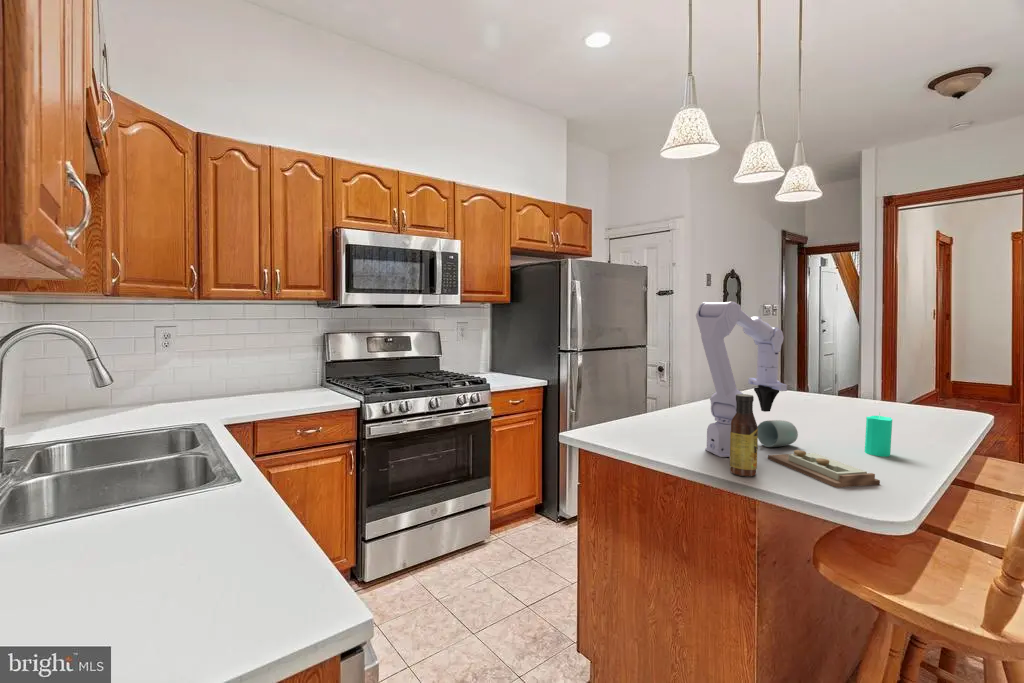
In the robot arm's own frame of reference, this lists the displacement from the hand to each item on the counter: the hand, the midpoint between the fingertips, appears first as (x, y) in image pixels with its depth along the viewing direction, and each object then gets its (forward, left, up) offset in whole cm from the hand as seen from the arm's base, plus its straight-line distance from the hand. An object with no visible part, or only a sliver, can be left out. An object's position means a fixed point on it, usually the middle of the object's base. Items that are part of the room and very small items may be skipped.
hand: (765, 411), depth 153 cm
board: (-3, -25, -10) cm, 27 cm away
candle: (+26, -14, -11) cm, 31 cm away
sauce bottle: (-24, -23, -11) cm, 35 cm away
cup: (+9, -1, -7) cm, 11 cm away
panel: (-3, -26, -9) cm, 28 cm away
